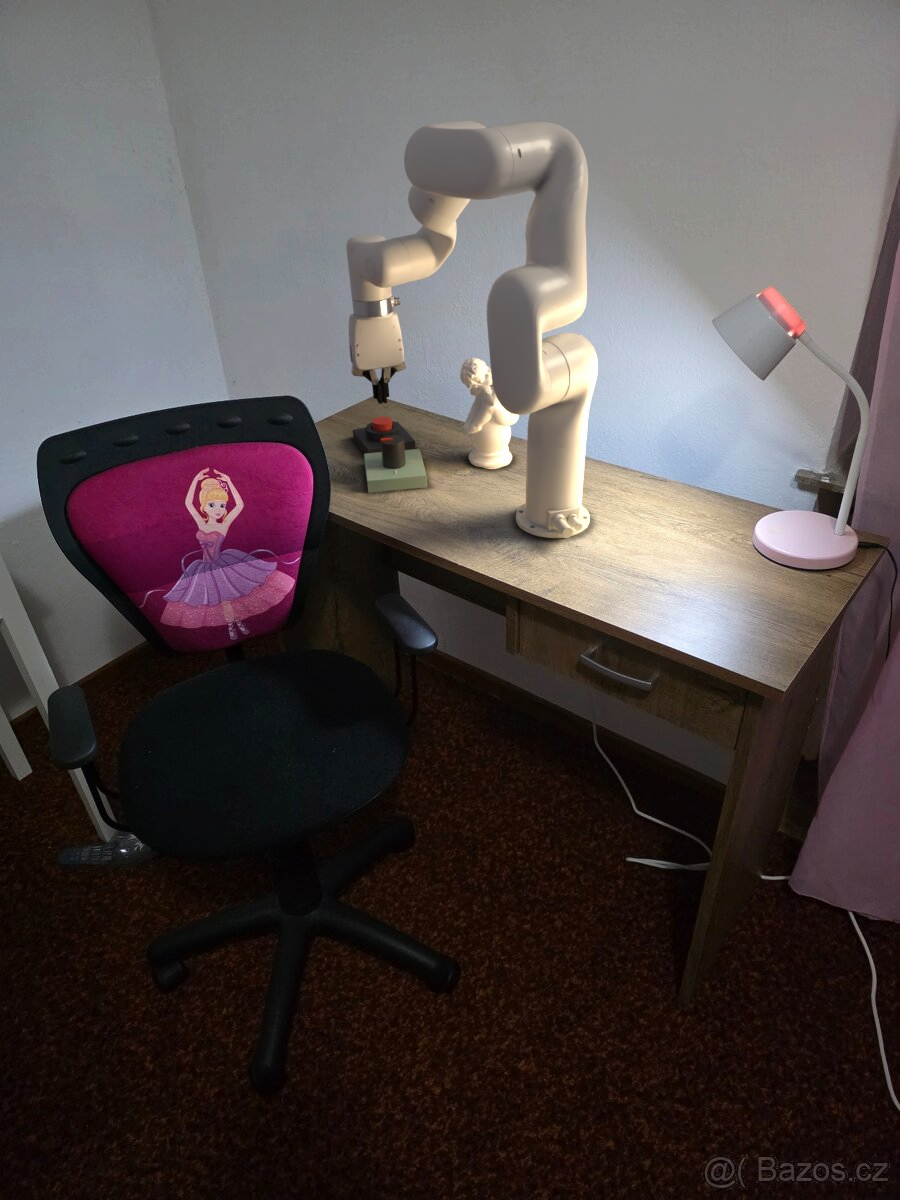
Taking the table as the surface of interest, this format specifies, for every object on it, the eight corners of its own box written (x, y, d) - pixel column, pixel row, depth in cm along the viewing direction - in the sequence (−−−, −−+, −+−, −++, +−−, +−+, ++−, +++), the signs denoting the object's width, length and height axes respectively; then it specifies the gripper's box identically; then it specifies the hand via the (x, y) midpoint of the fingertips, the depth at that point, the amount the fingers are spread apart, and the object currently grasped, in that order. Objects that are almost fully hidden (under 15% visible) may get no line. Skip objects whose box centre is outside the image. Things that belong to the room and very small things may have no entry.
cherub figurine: (457, 466, 157) (454, 354, 144) (473, 440, 166) (472, 334, 154) (518, 472, 154) (520, 359, 141) (531, 446, 163) (534, 337, 151)
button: (395, 430, 163) (394, 422, 162) (376, 433, 162) (375, 425, 161) (388, 423, 166) (388, 415, 165) (370, 426, 165) (369, 418, 164)
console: (427, 487, 150) (426, 474, 148) (368, 492, 149) (367, 480, 147) (420, 460, 159) (419, 448, 158) (365, 465, 158) (363, 452, 157)
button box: (415, 450, 163) (414, 432, 161) (368, 459, 160) (367, 441, 158) (398, 431, 172) (396, 413, 169) (353, 439, 169) (351, 421, 166)
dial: (404, 458, 154) (402, 432, 151) (406, 467, 151) (405, 441, 148) (381, 460, 154) (379, 434, 151) (383, 470, 150) (381, 443, 147)
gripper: (406, 297, 154) (413, 390, 165) (330, 306, 151) (341, 400, 162) (416, 307, 148) (422, 402, 159) (336, 316, 145) (348, 413, 156)
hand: (381, 401), depth 160 cm, fingers closed
